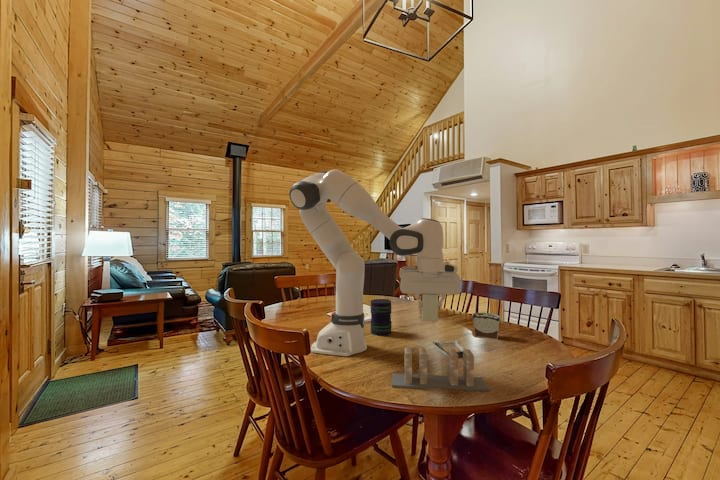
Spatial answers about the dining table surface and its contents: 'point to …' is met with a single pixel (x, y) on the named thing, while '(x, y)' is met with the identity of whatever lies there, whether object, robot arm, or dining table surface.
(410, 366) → the domino
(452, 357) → the domino
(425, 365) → the domino
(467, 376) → the domino
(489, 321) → the food container
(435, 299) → the sage domino
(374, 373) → the dining table surface
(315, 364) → the dining table surface
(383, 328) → the storage jar
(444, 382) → the domino mat
